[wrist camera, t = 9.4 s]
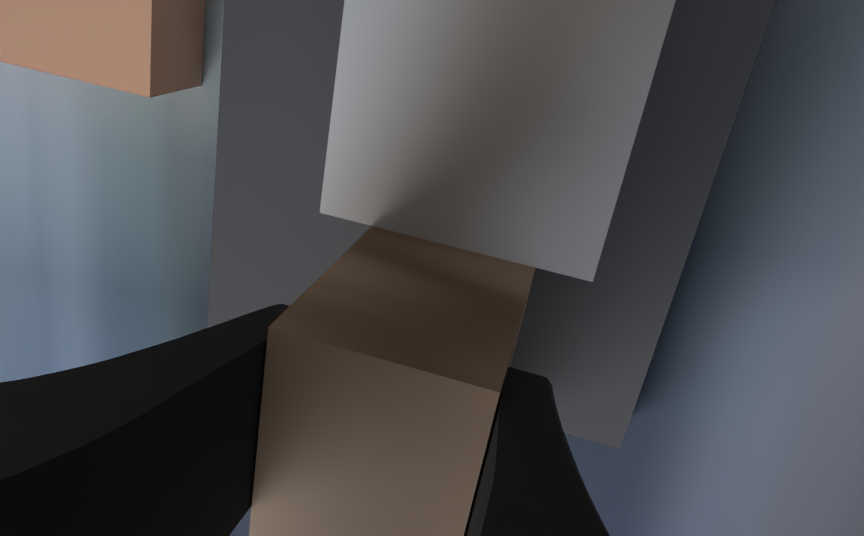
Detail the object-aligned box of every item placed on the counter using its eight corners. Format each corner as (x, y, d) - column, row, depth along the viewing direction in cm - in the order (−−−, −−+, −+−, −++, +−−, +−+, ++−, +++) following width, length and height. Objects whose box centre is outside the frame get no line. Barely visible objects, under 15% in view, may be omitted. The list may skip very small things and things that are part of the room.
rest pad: (229, 311, 16) (207, 330, 15) (273, -336, 12) (244, -364, 11) (619, 421, 15) (620, 449, 14) (852, -260, 10) (875, -282, 9)
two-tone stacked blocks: (312, 375, 15) (185, 540, 11) (399, -312, 10) (234, -542, 6) (542, 442, 14) (509, 649, 10) (749, -265, 10) (865, -485, 5)
